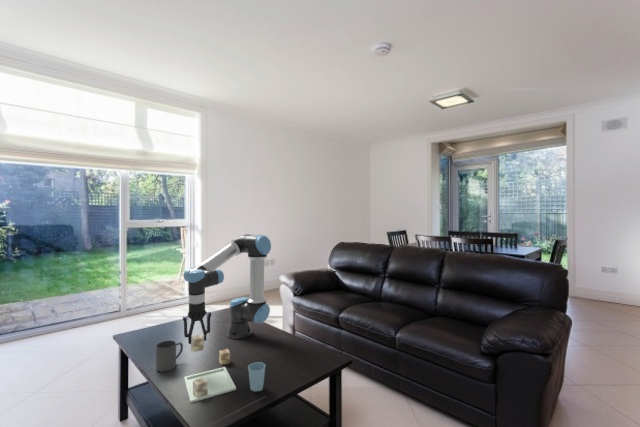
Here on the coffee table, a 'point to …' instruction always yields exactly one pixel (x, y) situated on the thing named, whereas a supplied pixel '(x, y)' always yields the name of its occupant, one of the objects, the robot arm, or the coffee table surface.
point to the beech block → (197, 343)
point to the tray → (211, 383)
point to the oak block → (224, 356)
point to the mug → (167, 355)
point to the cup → (256, 375)
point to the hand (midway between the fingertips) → (197, 348)
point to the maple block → (200, 387)
